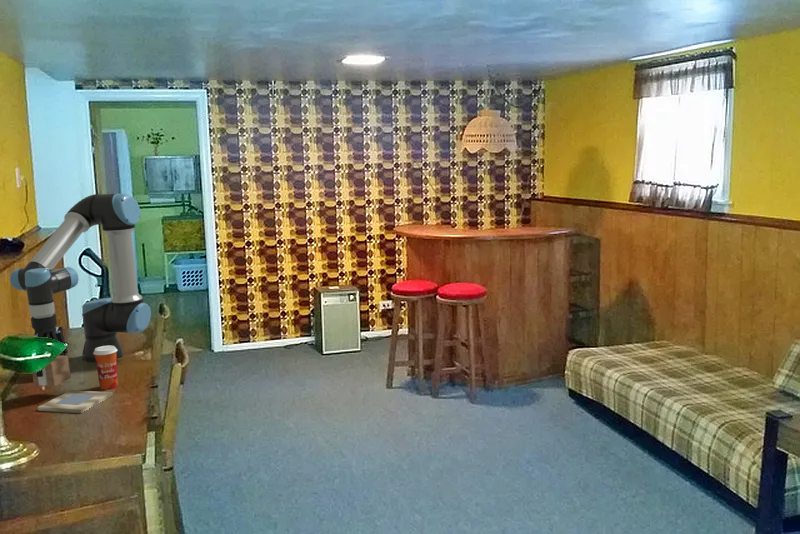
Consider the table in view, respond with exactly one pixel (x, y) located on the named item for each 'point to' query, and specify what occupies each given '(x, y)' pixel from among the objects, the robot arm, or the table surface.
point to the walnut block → (55, 372)
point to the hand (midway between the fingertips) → (52, 380)
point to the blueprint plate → (75, 401)
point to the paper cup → (106, 366)
